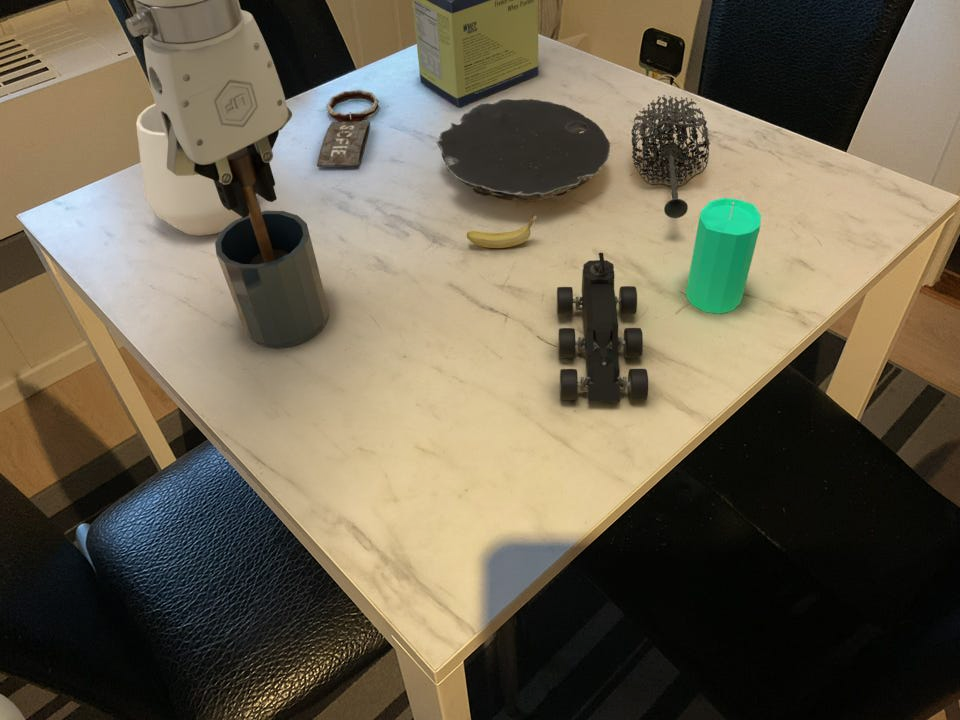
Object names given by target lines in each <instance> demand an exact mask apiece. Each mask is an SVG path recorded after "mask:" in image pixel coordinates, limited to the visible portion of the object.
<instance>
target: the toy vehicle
mask: <svg viewBox="0 0 960 720" xmlns="http://www.w3.org/2000/svg"><path fill="white" fill-rule="evenodd" d="M598 258H599V259H595V260H588V261H586V262H585V263H584V264H582V265H583V266H582V277H581V296H576V297H575V298H574V294H573V293H574V291H573V287H572V286H558V287H556V314H557V316H572V315H573V313H574V307H575V311H576V312H578V311H581V312H582V326H583V337H581V336H578V339H577V340H576V330H575V328H573V327H560V328H559V329H558V333H557V334H558V336H557V338H558V339H557V340H558V341H557V343H558V345H557V347H558V349H557V350H558V358H561V359H572V358H575V357H576V346H577V350H578V352H584V353H585V366H586V367H585V368H586V369H585V370H586V377H584V376H581V377H580V381H578V379H579V377H578V369H577V368H576V369H575V368H561V369H560V370H559V397H560V400H561V401H577V400H578V394H579V393H578V391H579V390H580V392H587V402H588V403H621V392H625V391H626V388H627V395H628V398H629V400H630V401H644V400H645V401H646V400H647V399H648V397H649V396H648V395H649V373H648V370H647V369H646V368H629V370H628V373H627V374H628V375H627V377H626V376H622V377H621V376H620V375H621V374H620V363H619V362H620V361H619V352H621V350H622V346H623V355H624V357H625V358H628V359H629V358H630V359H631V358H633V359H636V358H639V359H640V358H641V357H642V356H643V349H644V343H643V342H644V337H643V336H644V335H643V331H642V328H641V327H626V328H624V329H623V337H622V336H619V319H618V311H619V314H620V315H621V316H622V315H623V316H632V315H633V316H634V315H636V313H637V309H638V291H637V286H634V285H633V286H632V285H622V286H620V287H619V291H618V296H616V292H615V291H616V290H615V276H616V275H615V269H614V268H615V267H614V263H612V262H611V261H609V260H607V259H605V257H604V253H603V252H598ZM574 304H575V305H574ZM617 306H618V308H617ZM618 309H619V310H618ZM586 386H587V387H586ZM579 388H580V389H579ZM578 389H579V390H578Z"/></svg>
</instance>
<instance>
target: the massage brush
mask: <svg viewBox="0 0 960 720" xmlns="http://www.w3.org/2000/svg"><path fill="white" fill-rule="evenodd" d="M677 98H678V96H675V97H672V96H671V95H669V99H667V97H666V95H665V94H663V96H662V97H660V96H657V100H656V102H655V100H654V99H653V100H652V102H650V104H647V109H645V107H642V110H639V111H638V112H639V114H642V115H639V114H638V113H636V114H635V117H634V119H633V122H634V124H633V125H632V129H631V133H630V134H631V136H632V137H631V146H632V151H631V153H632V155H631V158H632V160H633V161H632V162H633V165H634V167H635V169H636V170H637V172H638V174H639V175H640V177H641V179H642V180H643V181H644V182H645V183H646V184H648V185H650V186H665V187H667V188H670V190H671V192H670V196H671V198H672V199H670V200H669V201H667V202H666V203H665V205H664V209H663V210H664V214H665V216H667V217H668V218H671V219H680V218H682V217H683V216H685V215H686V214H687V212H688V209H689V207H688V204H687V202H686V201H685V200H683V199H682V198H679V192H678V191H677V190H678V188H682V187H684V186H686V185H687V184H688V183H689V182H690V181H691V180H692V179H693V178H695V177H696V176H699V175H701V174H702V173H703V172H704V171H705V170H706V168H707V166H708V163H709V157H710V145H711V142H710V139H709V132H708V131H709V129H708V127H707V124H708V121H707V120H706V117H705V116H704V112H703V111H702V110H701V107H699V108H694V106H693V105H697V102H695V101H693V98H690V101H688V97H685V99H684V98H683V96H682V97H680V100H678V99H677ZM661 99H662V100H663V102H661ZM674 101H675V102H674ZM685 102H686V103H685ZM656 106H657V107H656ZM698 114H699V115H698ZM699 116H700V117H699ZM638 121H640V122H638ZM700 128H701V129H700ZM698 131H699V133H700V134H701V140H702V141H698V139H699V134H698ZM688 134H689V135H688ZM674 135H675V137H674ZM639 136H640V137H639ZM688 140H689V142H688ZM639 141H641V146H642V147H641V146H638V143H639ZM701 148H703V150H700V149H701ZM638 153H639V155H638ZM640 153H642V154H641V155H642V156H641V155H640ZM690 153H691V155H690ZM704 163H705V165H704ZM655 165H656V166H655ZM701 169H702V170H701ZM696 170H697V171H699V172H697V171H696ZM659 173H661V174H659ZM694 173H695V174H694ZM692 174H693V175H692ZM688 175H689V176H690V177H689V178H687V177H688ZM645 178H647V180H646V179H645ZM655 180H657V183H655ZM665 181H666V182H667V183H668V184H667V183H665ZM684 181H685V182H684ZM651 182H652V183H651ZM682 182H684V183H682Z"/></svg>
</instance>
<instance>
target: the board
mask: <svg viewBox="0 0 960 720" xmlns="http://www.w3.org/2000/svg"><path fill="white" fill-rule="evenodd" d="M459 121H460V124H459V123H458V124H456V123H453V122H450V127H449V128H448V129H447V130H443V131H441V132H440V133H439V136H438V137H439V139H438V141H436V145H437V146H438V148H439V151H440V153H441V158H442V160H443V162H444V163H445V165H446V169H447V170H448V172H450V174H451V175H452V176H453V177H454V178H455V179H457V180H458V181H460V182H461V183H463V184H464V185H465V186H467V187H468V188H471V189H472V190H473V192H474V193H475V194H477V195H479V196H492V197H494V198H497V199H502V200H506V201H511V200H515V201H518V202H523V203H524V202H534V203H536V202H539V201H542V200H545V199H549V198H551V197H560V196H564V195H566V194H567V193H568V191H572V190H576V189H578V188H580V187H581V186H583V185H584V184H586V183H587V182H589V181H590V180H591V179H592V178H593V177H595V176H596V175H597V174H599V172H600V170H601V169H602V168H603V167H604V166H605V164H606V162H607V161H608V160H609V157H610V152H611V142H610V140H609V139H608V137H607V136H606V134H605V132H604V130H603V129H602V128H601V127H600V125H598V124H597V123H596V122H595V121H593V120H592V119H590V118H589V117H586V116H585V115H584V114H583V113H581V112H579V111H576V110H574V109H572V108H571V107H568V106H566V105H563V104H559V103H554V102H552V101H545V100H542V99H541V100H540V99H534V98H528V99H527V98H523V99H508V98H504V99H500V100H497V102H494V103H490V102H489V103H488V102H487V103H480V104H478V105H476V106H474V107H472V108H471V109H470V110H469V111H467V112H465V113H463V115H462V116H461V117H460V120H459Z"/></svg>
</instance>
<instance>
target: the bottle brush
mask: <svg viewBox="0 0 960 720" xmlns="http://www.w3.org/2000/svg"><path fill="white" fill-rule="evenodd" d="M227 158H228V162H229V166H230V169H231V172H232V175H233V176H234V177H235V178H237V179H238V180H239V181H240V183H241V186H242V189H243V192H244V195H245V199H246V202H247V205H248V208H249V211H250V213H249V217H250V220H251V223H252V226H253V230H254V233H255V236H256V239H257V242H258V245H259V248H260V251H261V253H260V254H258V255H257V256H255V257H254V258H253V259H252V260H251V262H250V264H262V263H267V262H271V261H275V260H277V259H279V258H281V257H283V256H285V255H287V254H288V253H287V252H285V251H282V250H273V249H272V246H271V243H270V239H269V236H268V233H267V230H266V226H265V223H264V220H263V216H262V213H261V212H262V210H261V207H260V203H259V201H258V197H257V194H256V193H255V190H254V187H253V184H254V183H255V182H256V181H257V174H256V171H255V168H254V164H253V161H252V158H251V154H250V151H249V149H248V148H247V147H245V148H243V149H241V150H239V151H237V152H235V153H233V154H231V155H229V156H227Z"/></svg>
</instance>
